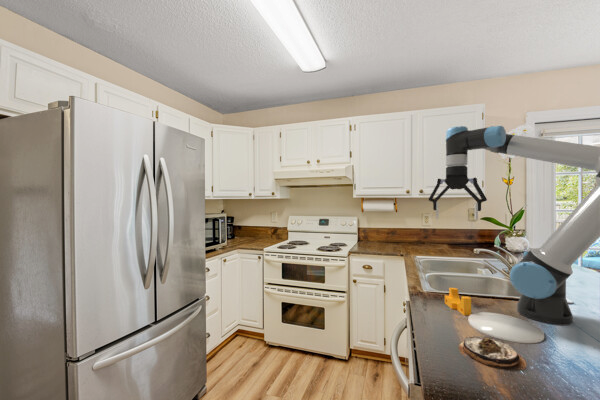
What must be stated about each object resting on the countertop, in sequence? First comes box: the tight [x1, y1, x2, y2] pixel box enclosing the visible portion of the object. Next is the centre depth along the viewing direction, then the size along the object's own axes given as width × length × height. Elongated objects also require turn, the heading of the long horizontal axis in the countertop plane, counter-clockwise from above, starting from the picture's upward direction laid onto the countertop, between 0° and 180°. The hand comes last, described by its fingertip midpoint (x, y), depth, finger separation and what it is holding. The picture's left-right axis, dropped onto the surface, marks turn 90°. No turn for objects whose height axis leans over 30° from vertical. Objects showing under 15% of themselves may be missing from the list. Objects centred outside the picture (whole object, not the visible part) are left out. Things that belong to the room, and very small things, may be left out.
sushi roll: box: [458, 335, 527, 371], centre depth 74 cm, size 15×15×4 cm
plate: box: [467, 311, 545, 344], centre depth 90 cm, size 20×20×1 cm
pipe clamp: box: [444, 287, 472, 317], centre depth 107 cm, size 12×4×6 cm, turn 175°
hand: (456, 219), depth 110 cm, fingers open, 13 cm apart
